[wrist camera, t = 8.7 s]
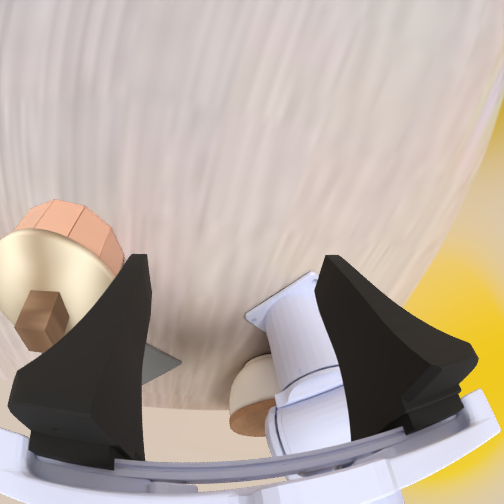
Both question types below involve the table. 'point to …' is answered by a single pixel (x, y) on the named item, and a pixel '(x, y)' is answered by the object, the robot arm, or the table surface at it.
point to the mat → (156, 363)
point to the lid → (48, 284)
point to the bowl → (77, 229)
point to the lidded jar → (253, 396)
